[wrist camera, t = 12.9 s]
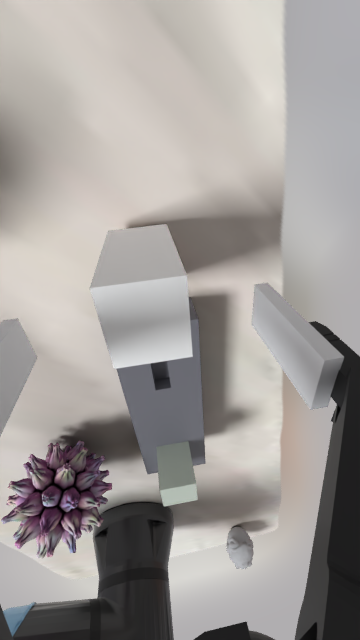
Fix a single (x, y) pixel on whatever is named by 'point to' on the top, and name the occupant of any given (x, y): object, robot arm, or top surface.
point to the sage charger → (176, 474)
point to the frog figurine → (240, 547)
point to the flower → (58, 498)
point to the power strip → (167, 402)
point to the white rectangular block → (142, 297)
